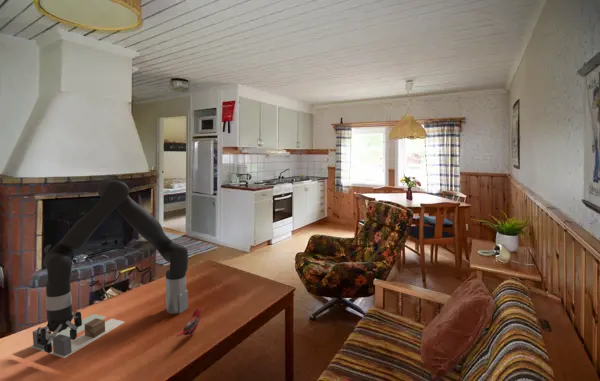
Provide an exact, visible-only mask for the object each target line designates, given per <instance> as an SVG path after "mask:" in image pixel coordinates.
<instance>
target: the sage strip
mask: <svg viewBox="0 0 600 381" xmlns="http://www.w3.org/2000/svg"><path fill="white" fill-rule="evenodd" d="M95 318H97V319H101V320H105V319H106V318H107V316H104V315H99V314H96V313H92V314H91V315H89V316H87V317H85V318H82V325H81V326H79V327H78V328H77V334H79V333H81V332H83V331H85V325H84V324H86V323H88V322H90V321H91V320H93V319H95ZM48 330H49V329H47V331H48ZM70 330H71V329H70V328H68V327H67V329H65V330H62V331H61V332H59V333H57V335H59V334H61V335H64V336H68V337H70ZM57 335H56V336H57ZM32 342H33V343H32V344H33V345H30V346H29V347H30V348H31V349H35V350H38V351H41V352H45V351H44V345H40V344H37V329H35V330H33V331H32ZM51 343H52V348H53V340H52V341H51Z"/></svg>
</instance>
